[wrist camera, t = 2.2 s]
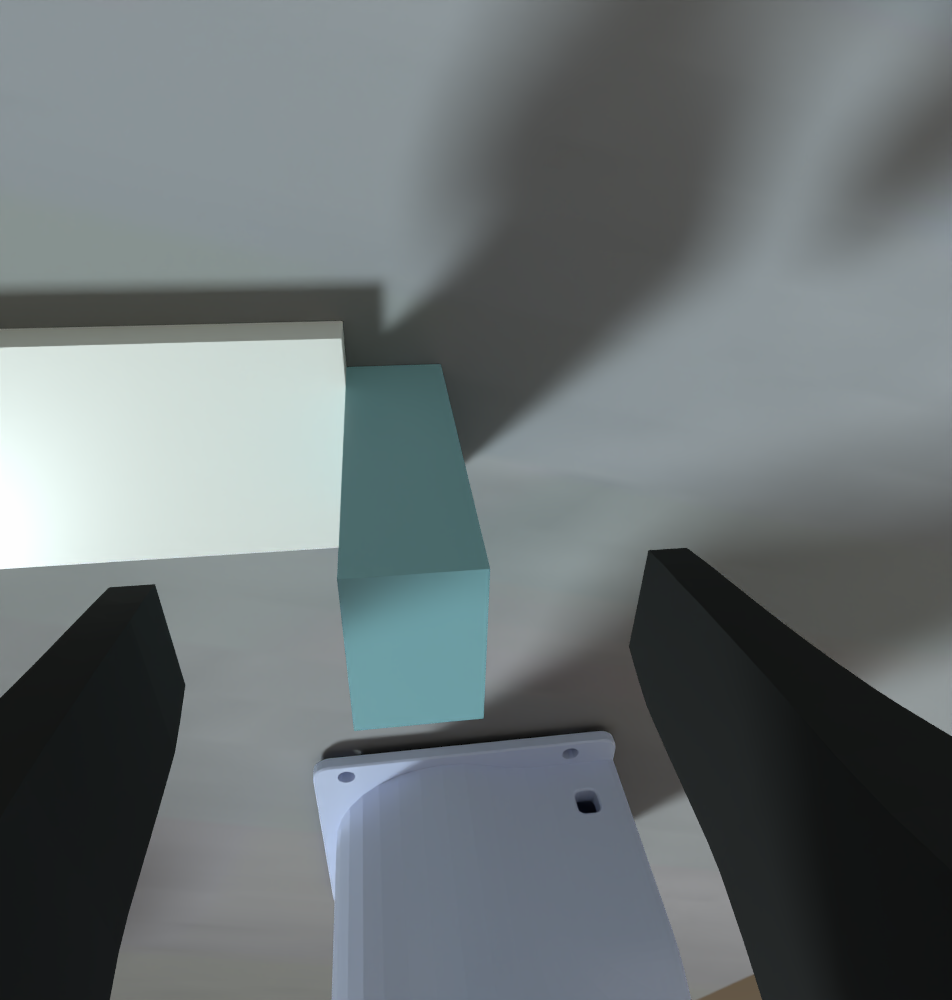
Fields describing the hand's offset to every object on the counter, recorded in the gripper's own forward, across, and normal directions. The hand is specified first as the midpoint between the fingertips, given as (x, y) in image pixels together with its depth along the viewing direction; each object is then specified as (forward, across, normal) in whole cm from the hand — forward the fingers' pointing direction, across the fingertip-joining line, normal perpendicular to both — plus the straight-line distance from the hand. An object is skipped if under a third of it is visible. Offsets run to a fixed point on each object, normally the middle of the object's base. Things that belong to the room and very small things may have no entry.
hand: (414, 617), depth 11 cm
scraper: (+6, +6, 0) cm, 9 cm away
